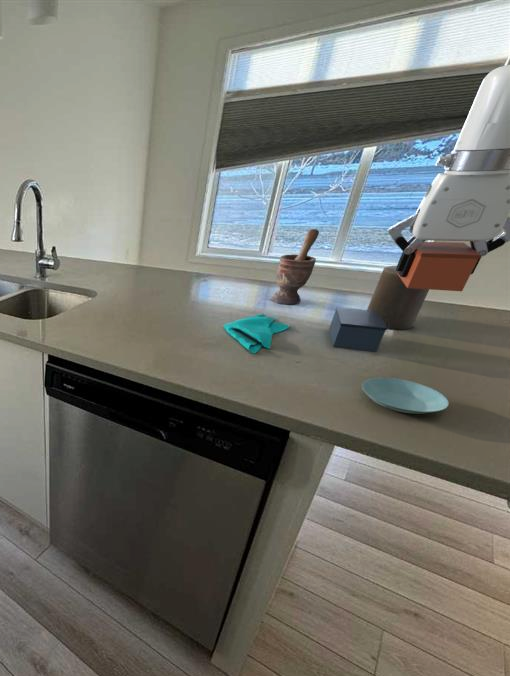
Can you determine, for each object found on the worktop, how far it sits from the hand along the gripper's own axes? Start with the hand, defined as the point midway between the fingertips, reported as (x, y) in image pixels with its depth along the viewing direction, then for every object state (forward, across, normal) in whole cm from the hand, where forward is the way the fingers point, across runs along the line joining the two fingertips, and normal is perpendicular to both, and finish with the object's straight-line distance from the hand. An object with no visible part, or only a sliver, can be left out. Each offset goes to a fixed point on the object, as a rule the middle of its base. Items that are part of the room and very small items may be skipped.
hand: (430, 275), depth 71 cm
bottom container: (+22, -3, +21) cm, 30 cm away
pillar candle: (+22, +5, +36) cm, 42 cm away
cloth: (+22, -24, +18) cm, 37 cm away
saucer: (+22, +1, -8) cm, 23 cm away
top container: (+1, 0, 0) cm, 1 cm away
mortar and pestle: (+22, -17, +48) cm, 56 cm away
